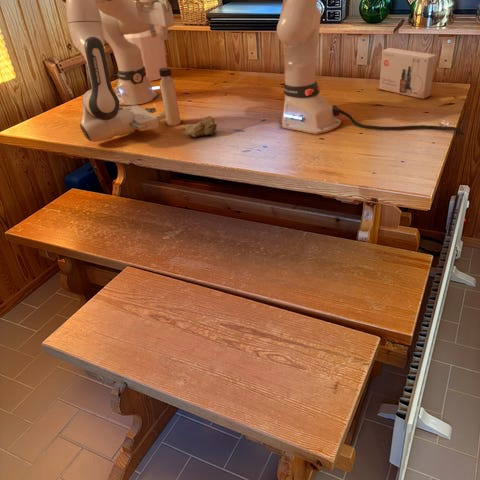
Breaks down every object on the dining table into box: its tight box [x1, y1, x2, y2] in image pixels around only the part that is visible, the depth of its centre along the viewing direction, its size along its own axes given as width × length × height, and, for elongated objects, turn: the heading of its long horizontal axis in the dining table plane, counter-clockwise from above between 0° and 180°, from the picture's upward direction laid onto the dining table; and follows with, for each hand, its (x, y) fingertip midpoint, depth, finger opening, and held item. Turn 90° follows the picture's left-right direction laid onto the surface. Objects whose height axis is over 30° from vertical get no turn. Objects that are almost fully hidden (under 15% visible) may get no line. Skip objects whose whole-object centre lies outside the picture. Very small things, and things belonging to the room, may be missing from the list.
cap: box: [159, 67, 172, 77], centre depth 171 cm, size 4×4×2 cm
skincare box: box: [378, 47, 437, 100], centre depth 184 cm, size 21×6×16 cm, turn 40°
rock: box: [185, 115, 218, 138], centre depth 169 cm, size 11×6×10 cm
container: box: [124, 25, 168, 82], centre depth 235 cm, size 21×21×28 cm
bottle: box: [159, 75, 182, 127], centre depth 176 cm, size 5×5×20 cm
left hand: (160, 112), depth 177 cm, fingers open, 8 cm apart
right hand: (159, 38), depth 164 cm, fingers open, 6 cm apart
